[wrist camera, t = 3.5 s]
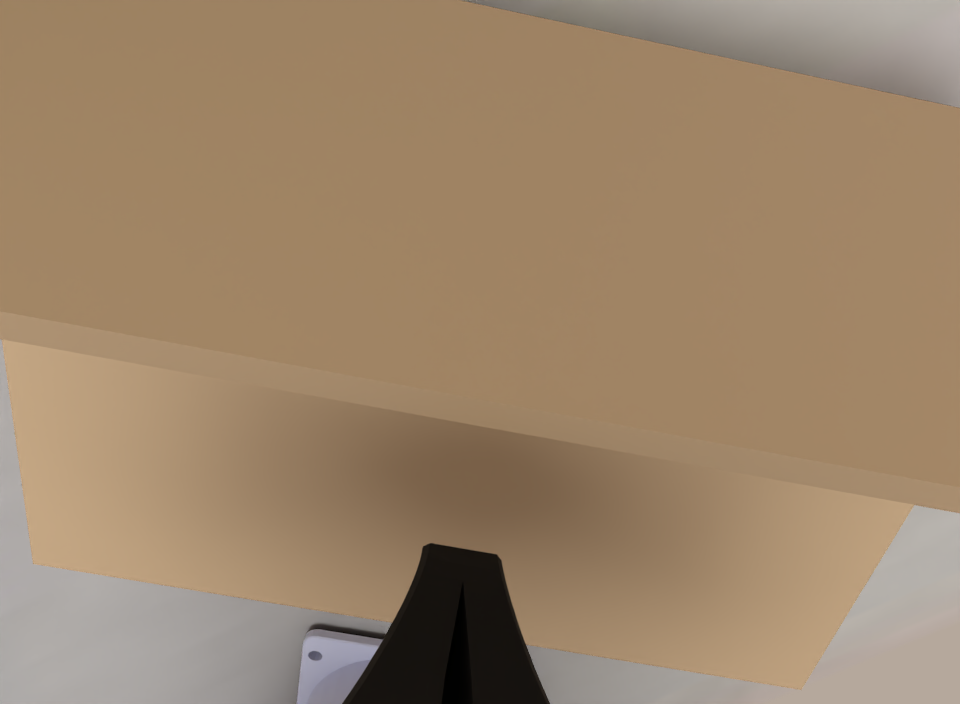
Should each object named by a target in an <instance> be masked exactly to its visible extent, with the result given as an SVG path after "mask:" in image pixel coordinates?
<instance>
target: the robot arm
mask: <svg viewBox="0 0 960 704" xmlns="http://www.w3.org/2000/svg"><path fill="white" fill-rule="evenodd" d="M296 704H550V703H549V701H548V698H547V696H546V694H545V691H544V689H543V687H542V685H541V682H540V680H539V677H538V675H537V672H536V670H535V668H534V665H533V662H532V660H531V657H530V654H529V652H528V649H527V646H526V644H525V641H524V638H523V636H522V633H521V630H520V627H519V624H518V621H517V618H516V615H515V611H514V608H513V605H512V602H511V598H510V595H509V591H508V587H507V584H506V580H505V575H504V571H503V566H502V560H501V559H500V558H499V556H498V555H497V554H492V553H486V552H480V551H474V550H469V549H463V548H457V547H451V546H445V545H439V544H434V543H429V544H427V545H425V546H423V548H422V553H421V558H420V561H419V565H418V568H417V571H416V574H415V576H414V579H413V581H412V584H411V586H410V588H409V590H408V593H407V595H406V597H405V599H404V601H403V603H402V605H401V607H400V609H399V611H398V613H397V615H396V617H395V619H394V621H393V622H392V624H391V626H390V628H389V630H388V632H387V634H386V636H385V637H384V639H377V638H370V637H364V636H358V635H352V634H346V633H340V632H334V631H327V630H321V629H314V630H310V631H309V632H307V633H306V636H305V639H304V642H303V648H302V657H301V666H300V676H299V685H298V694H297V703H296Z"/></svg>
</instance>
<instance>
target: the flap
mask: <svg viewBox="0 0 960 704" xmlns="http://www.w3.org/2000/svg"><path fill="white" fill-rule="evenodd" d="M0 339H2V340H8V341H13V342H19V343H24V344H30V345H36V346H41V347H47V348H52V349H58V350H63V351H69V352H74V353H80V354H85V355H91V356H96V357H102V358H107V359H113V360H118V361H124V362H129V363H135V364H140V365H146V366H151V367H157V368H162V369H168V370H173V371H179V372H184V373H190V374H195V375H201V376H206V377H212V378H217V379H223V380H228V381H234V382H240V383H245V384H251V385H256V386H262V387H267V388H273V389H278V390H284V391H289V392H295V393H300V394H306V395H311V396H317V397H322V398H328V399H333V400H339V401H344V402H350V403H355V404H361V405H366V406H372V407H377V408H383V409H388V410H394V411H399V412H405V413H410V414H416V415H421V416H427V417H432V418H438V419H444V420H449V421H455V422H460V423H466V424H471V425H477V426H482V427H488V428H493V429H499V430H504V431H510V432H515V433H521V434H526V435H532V436H537V437H543V438H548V439H554V440H559V441H565V442H570V443H576V444H581V445H587V446H592V447H598V448H603V449H609V450H614V451H620V452H625V453H631V454H636V455H642V456H648V457H653V458H659V459H664V460H670V461H675V462H681V463H686V464H692V465H697V466H703V467H708V468H714V469H719V470H725V471H730V472H736V473H741V474H747V475H752V476H758V477H763V478H769V479H774V480H780V481H785V482H791V483H796V484H802V485H807V486H813V487H818V488H824V489H829V490H835V491H840V492H846V493H852V494H857V495H863V496H868V497H874V498H879V499H885V500H890V501H896V502H901V503H907V504H912V505H918V506H923V507H929V508H934V509H940V510H945V511H951V512H956V513H960V108H957V107H952V106H948V105H943V104H938V103H934V102H929V101H924V100H920V99H915V98H910V97H906V96H901V95H897V94H892V93H887V92H883V91H878V90H873V89H869V88H864V87H860V86H855V85H850V84H846V83H841V82H836V81H832V80H827V79H822V78H818V77H813V76H809V75H804V74H799V73H795V72H790V71H785V70H781V69H776V68H772V67H767V66H762V65H758V64H753V63H748V62H744V61H739V60H734V59H730V58H725V57H721V56H716V55H711V54H707V53H702V52H697V51H693V50H688V49H684V48H679V47H674V46H670V45H665V44H660V43H656V42H651V41H646V40H642V39H637V38H633V37H628V36H623V35H619V34H614V33H609V32H605V31H600V30H595V29H591V28H586V27H582V26H577V25H572V24H568V23H563V22H558V21H554V20H549V19H545V18H540V17H535V16H531V15H526V14H521V13H517V12H512V11H507V10H503V9H498V8H494V7H489V6H484V5H480V4H475V3H470V2H466V1H461V0H0Z"/></svg>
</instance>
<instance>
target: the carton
mask: <svg viewBox="0 0 960 704" xmlns="http://www.w3.org/2000/svg"><path fill="white" fill-rule="evenodd" d="M2 344H3V351H4V358H5V365H6V372H7V380H8V387H9V394H10V401H11V408H12V416H13V423H14V430H15V437H16V444H17V452H18V459H19V466H20V473H21V480H22V488H23V495H24V502H25V509H26V516H27V523H28V531H29V538H30V545H31V552H32V559H33V564H37V565H44V566H50V567H56V568H62V569H68V570H74V571H80V572H86V573H92V574H98V575H105V576H111V577H117V578H123V579H129V580H135V581H141V582H147V583H153V584H159V585H165V586H172V587H178V588H184V589H190V590H196V591H202V592H208V593H214V594H220V595H226V596H232V597H239V598H245V599H251V600H257V601H263V602H269V603H275V604H281V605H287V606H293V607H300V608H306V609H312V610H318V611H324V612H330V613H336V614H342V615H348V616H354V617H360V618H367V619H373V620H379V621H385V622H391V623H392V622H393V621H394V619H395V617H396V615H397V613H398V611H399V609H400V607H401V605H402V603H403V601H404V599H405V597H406V595H407V593H408V590H409V588H410V586H411V584H412V581H413V579H414V576H415V574H416V571H417V568H418V565H419V561H420V558H421V553H422V548H423V546H425V545H427V544H429V543H434V544H439V545H445V546H451V547H457V548H463V549H469V550H474V551H480V552H486V553H492V554H497V555H498V556H499V558H500V559H501V560H502V566H503V571H504V575H505V580H506V584H507V587H508V591H509V595H510V598H511V602H512V605H513V608H514V611H515V615H516V618H517V621H518V624H519V627H520V630H521V633H522V636H523V638H524V641H525V644H526V645H531V646H537V647H543V648H549V649H555V650H562V651H568V652H574V653H580V654H586V655H592V656H598V657H604V658H610V659H616V660H622V661H629V662H635V663H641V664H647V665H653V666H659V667H665V668H671V669H677V670H683V671H690V672H696V673H702V674H708V675H714V676H720V677H726V678H732V679H738V680H744V681H750V682H757V683H763V684H769V685H775V686H781V687H787V688H793V689H799V690H801V689H802V688H803V686H804V684H805V683H806V681H807V680H808V678H809V676H810V675H811V673H812V671H813V670H814V668H815V666H816V665H817V663H818V662H819V660H820V658H821V657H822V655H823V653H824V652H825V650H826V648H827V647H828V645H829V644H830V642H831V640H832V639H833V637H834V635H835V634H836V632H837V630H838V629H839V627H840V626H841V624H842V622H843V621H844V619H845V617H846V616H847V614H848V612H849V611H850V609H851V608H852V606H853V604H854V603H855V601H856V599H857V598H858V596H859V594H860V593H861V591H862V590H863V588H864V586H865V585H866V583H867V581H868V580H869V578H870V576H871V575H872V573H873V572H874V570H875V568H876V567H877V565H878V563H879V562H880V560H881V558H882V557H883V555H884V554H885V552H886V550H887V549H888V547H889V545H890V544H891V542H892V540H893V539H894V537H895V536H896V534H897V532H898V531H899V529H900V527H901V526H902V524H903V522H904V521H905V519H906V518H907V516H908V514H909V513H910V511H911V509H912V508H913V506H914V505H912V504H907V503H901V502H896V501H890V500H885V499H879V498H874V497H868V496H863V495H857V494H852V493H846V492H840V491H835V490H829V489H824V488H818V487H813V486H807V485H802V484H796V483H791V482H785V481H780V480H774V479H769V478H763V477H758V476H752V475H747V474H741V473H736V472H730V471H725V470H719V469H714V468H708V467H703V466H697V465H692V464H686V463H681V462H675V461H670V460H664V459H659V458H653V457H648V456H642V455H636V454H631V453H625V452H620V451H614V450H609V449H603V448H598V447H592V446H587V445H581V444H576V443H570V442H565V441H559V440H554V439H548V438H543V437H537V436H532V435H526V434H521V433H515V432H510V431H504V430H499V429H493V428H488V427H482V426H477V425H471V424H466V423H460V422H455V421H449V420H444V419H438V418H432V417H427V416H421V415H416V414H410V413H405V412H399V411H394V410H388V409H383V408H377V407H372V406H366V405H361V404H355V403H350V402H344V401H339V400H333V399H328V398H322V397H317V396H311V395H306V394H300V393H295V392H289V391H284V390H278V389H273V388H267V387H262V386H256V385H251V384H245V383H240V382H234V381H228V380H223V379H217V378H212V377H206V376H201V375H195V374H190V373H184V372H179V371H173V370H168V369H162V368H157V367H151V366H146V365H140V364H135V363H129V362H124V361H118V360H113V359H107V358H102V357H96V356H91V355H85V354H80V353H74V352H69V351H63V350H58V349H52V348H47V347H41V346H36V345H30V344H24V343H19V342H13V341H8V340H2Z"/></svg>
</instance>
